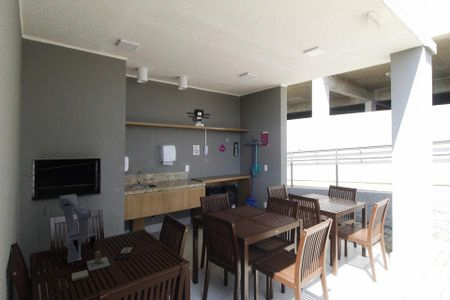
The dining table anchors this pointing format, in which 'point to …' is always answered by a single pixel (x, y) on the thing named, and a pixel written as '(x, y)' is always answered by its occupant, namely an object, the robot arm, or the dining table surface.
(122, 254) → the chocolate bar
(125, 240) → the dining table surface
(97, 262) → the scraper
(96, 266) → the mat
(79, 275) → the tile
